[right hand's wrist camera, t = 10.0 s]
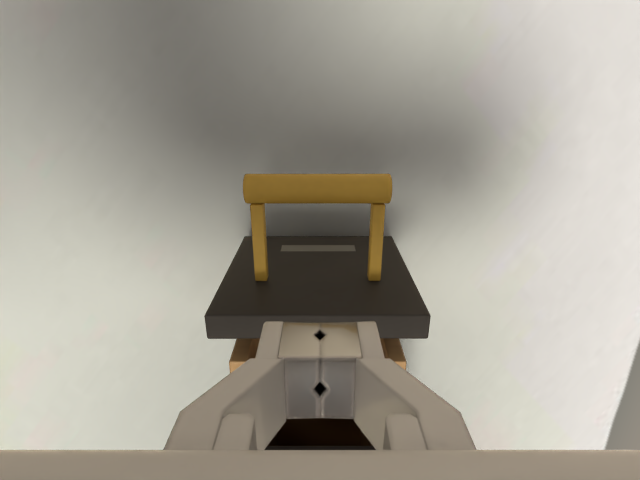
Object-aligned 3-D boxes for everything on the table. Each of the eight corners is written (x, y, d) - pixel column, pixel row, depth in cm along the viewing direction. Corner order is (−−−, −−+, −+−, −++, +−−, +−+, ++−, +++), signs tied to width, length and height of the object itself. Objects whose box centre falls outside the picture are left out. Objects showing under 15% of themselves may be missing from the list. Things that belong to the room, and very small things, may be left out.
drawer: (238, 153, 23) (188, 192, 14) (397, 153, 23) (445, 192, 14) (261, 460, 32) (239, 599, 23) (375, 460, 32) (397, 599, 23)
